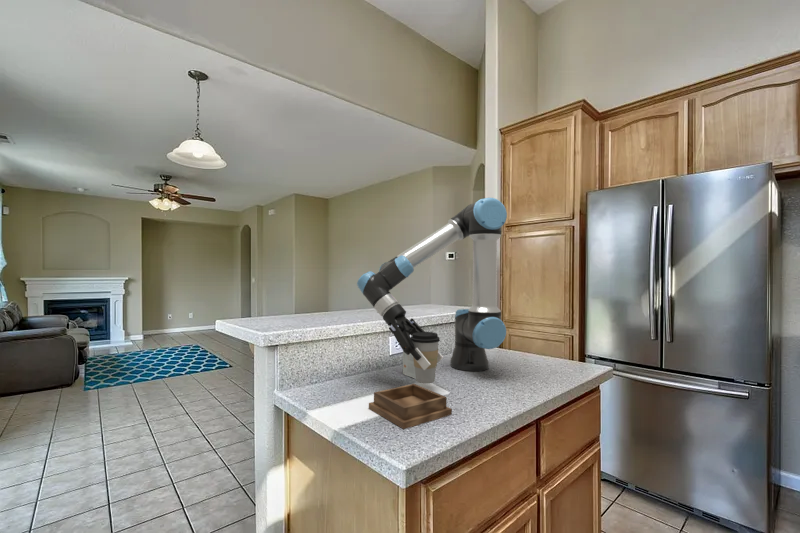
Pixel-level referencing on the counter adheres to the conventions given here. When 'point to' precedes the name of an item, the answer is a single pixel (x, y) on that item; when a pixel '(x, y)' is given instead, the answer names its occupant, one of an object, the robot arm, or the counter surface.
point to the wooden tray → (409, 405)
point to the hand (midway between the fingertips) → (434, 363)
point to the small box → (408, 365)
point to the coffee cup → (426, 355)
